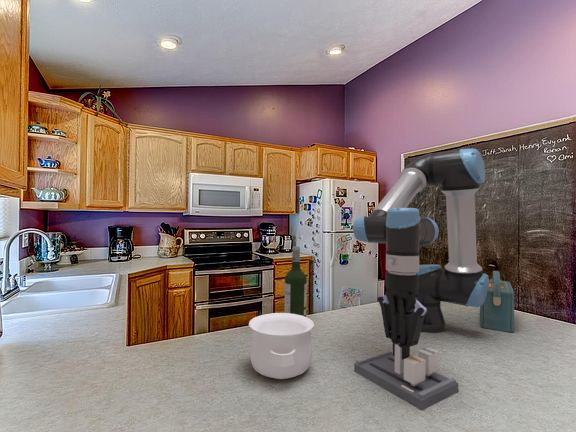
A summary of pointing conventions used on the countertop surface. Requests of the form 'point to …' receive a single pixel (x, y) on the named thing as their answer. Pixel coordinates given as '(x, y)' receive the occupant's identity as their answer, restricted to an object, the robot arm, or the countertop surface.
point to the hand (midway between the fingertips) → (400, 371)
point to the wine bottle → (295, 287)
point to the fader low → (414, 370)
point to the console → (385, 376)
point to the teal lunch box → (498, 306)
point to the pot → (281, 344)
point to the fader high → (430, 360)
